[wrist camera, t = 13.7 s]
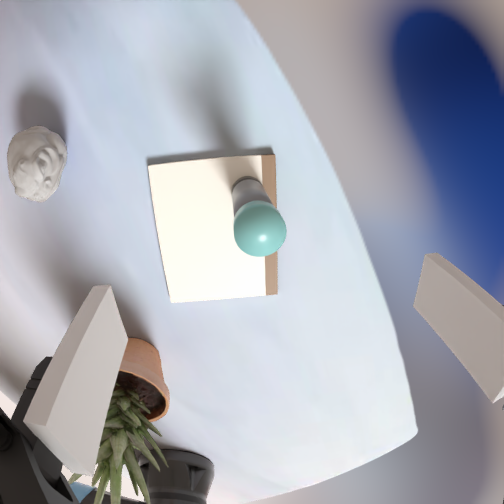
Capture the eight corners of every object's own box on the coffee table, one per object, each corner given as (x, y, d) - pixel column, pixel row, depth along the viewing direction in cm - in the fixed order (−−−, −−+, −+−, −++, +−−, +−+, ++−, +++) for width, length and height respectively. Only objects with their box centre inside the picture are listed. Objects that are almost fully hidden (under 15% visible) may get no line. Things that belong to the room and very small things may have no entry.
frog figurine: (60, 201, 25) (24, 227, 19) (21, 154, 23) (-21, 169, 16) (97, 157, 24) (62, 172, 18) (54, 108, 21) (12, 111, 15)
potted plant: (144, 313, 32) (95, 540, 9) (188, 367, 36) (184, 562, 13) (83, 339, 32) (22, 519, 10) (129, 386, 36) (102, 552, 14)
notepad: (171, 299, 31) (171, 303, 30) (149, 165, 25) (147, 166, 24) (276, 290, 32) (277, 294, 31) (274, 154, 26) (275, 154, 25)
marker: (231, 209, 27) (235, 258, 18) (229, 175, 26) (232, 209, 17) (265, 206, 27) (286, 254, 18) (264, 174, 26) (286, 206, 17)
